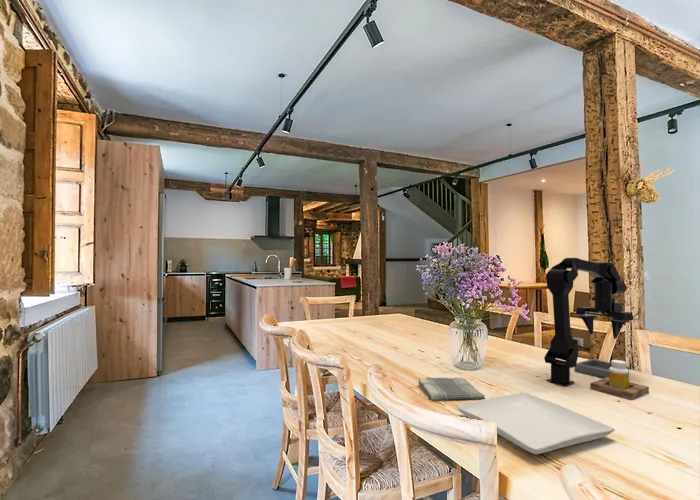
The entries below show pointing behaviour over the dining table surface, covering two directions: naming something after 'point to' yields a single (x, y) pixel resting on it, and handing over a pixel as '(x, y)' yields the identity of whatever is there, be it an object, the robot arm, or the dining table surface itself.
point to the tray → (594, 368)
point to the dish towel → (449, 389)
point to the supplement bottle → (619, 374)
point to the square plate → (535, 422)
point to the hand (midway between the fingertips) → (603, 336)
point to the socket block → (620, 389)
